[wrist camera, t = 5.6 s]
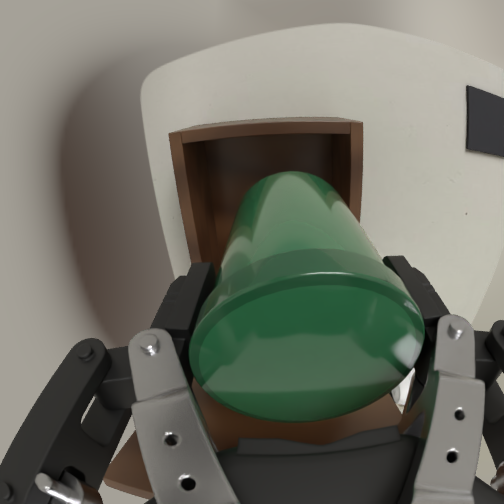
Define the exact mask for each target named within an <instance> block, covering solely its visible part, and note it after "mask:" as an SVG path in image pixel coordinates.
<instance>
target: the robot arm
mask: <svg viewBox="0 0 504 504" xmlns="http://www.w3.org/2000/svg"><path fill="white" fill-rule="evenodd" d="M383 262H384V263H385V265H386V266H387V267H388V268H390V269H391V270H392V271H393V272H394V273H395V274H396V275H397V276H399V277H400V278H401V280H402V281H403V283H404V284H405V285H406V287H407V288H408V290H409V292H410V293H411V295H412V297H413V299H414V300H415V302H416V304H417V306H418V308H419V309H420V312H421V314H422V317H423V320H424V326H425V339H424V345H423V349H422V352H421V354H420V357H419V359H418V361H417V363H416V364H415V366H414V369H415V371H414V373H413V375H412V378H411V382H410V386H409V391H408V395H407V399H406V402H405V406H404V410H403V413H402V417H401V420H400V422H399V424H398V425H392V426H387V427H382V428H377V429H371V430H365V431H361V432H358V433H356V434H353V435H350V436H348V437H345V438H342V439H340V440H337V441H334V442H331V443H328V444H324V445H316V444H309V443H303V442H297V441H292V440H286V439H281V438H240V437H238V447H232V448H228V449H224V450H221V451H219V449H218V447H217V444H216V442H215V440H214V438H213V436H212V434H211V432H210V430H209V428H208V425H207V423H206V421H205V418H204V416H203V413H202V411H201V409H200V406H199V404H198V401H197V399H196V396H195V394H194V391H193V389H192V383H193V379H194V376H193V374H192V371H191V368H190V364H189V356H188V350H189V344H190V339H191V336H192V333H193V329H194V326H195V323H196V320H197V317H198V314H199V312H200V309H201V307H202V305H203V304H204V302H205V300H206V299H207V297H208V296H209V295H210V294H211V293H212V291H213V287H214V284H215V280H216V273H215V268H214V264H213V262H198V263H192V265H191V267H190V269H189V272H188V274H187V276H179V277H178V278H177V279H176V280H175V281H174V282H173V283H172V284H171V285H170V287H169V289H168V291H167V295H165V297H164V299H163V302H162V304H161V306H160V308H159V310H158V312H157V314H156V316H155V318H154V320H153V323H152V325H151V327H150V329H147V330H144V331H141V332H140V333H138V334H136V336H134V337H133V338H132V340H131V341H130V343H129V346H125V347H119V348H113V349H106V347H105V346H104V344H103V343H102V341H100V340H99V339H95V338H89V339H85V340H82V341H80V342H78V343H77V344H76V345H75V346H74V347H73V348H72V349H71V350H70V352H69V353H68V355H67V356H66V357H65V359H64V360H63V362H62V363H61V365H60V366H59V367H58V369H57V370H56V372H55V373H54V375H53V376H52V378H51V379H50V381H49V382H48V384H47V385H46V387H45V388H44V390H43V391H42V393H41V395H40V396H39V398H38V399H37V401H36V403H35V404H34V406H33V407H32V409H31V411H30V412H29V414H28V416H27V417H26V419H25V421H24V422H23V424H22V426H21V427H20V429H19V431H18V433H17V434H16V436H15V438H14V440H13V442H12V444H11V446H10V448H9V449H8V451H7V453H6V455H5V457H4V459H3V461H2V463H1V465H0V504H103V501H102V498H101V496H100V494H99V492H98V490H99V487H100V485H101V483H102V480H103V478H104V476H105V473H106V471H107V469H108V466H109V464H110V462H111V459H112V457H113V455H114V452H115V450H116V448H117V446H118V444H119V441H120V439H121V437H122V434H123V433H124V430H125V428H126V426H127V424H128V422H129V419H130V417H131V415H133V419H134V424H135V429H136V433H137V437H138V442H139V446H140V450H141V453H142V457H143V461H144V464H145V468H146V471H147V474H148V478H149V481H150V484H151V487H152V490H153V493H154V497H153V498H151V499H150V500H149V501H147V502H146V503H144V504H504V394H503V392H502V391H501V389H500V387H499V385H498V383H497V382H496V379H497V378H498V377H499V376H500V374H501V373H502V372H503V373H504V320H499V321H496V322H495V323H494V324H493V326H492V328H491V330H490V331H489V332H485V331H475V330H473V328H472V326H471V324H470V323H469V322H468V321H467V320H466V319H464V318H462V317H460V316H458V315H452V314H450V312H449V311H448V309H447V308H446V306H445V305H444V303H443V301H442V300H441V298H440V297H439V295H438V294H437V292H435V289H434V288H433V286H432V285H430V282H429V281H428V279H427V278H426V276H425V275H424V274H423V273H421V272H420V271H419V270H417V269H416V268H412V267H411V266H410V264H409V263H408V261H407V260H406V259H405V257H404V256H385V257H384V258H383ZM93 396H94V397H95V400H94V402H93V403H92V405H91V407H90V409H89V411H88V413H87V415H86V416H85V418H84V420H83V422H82V424H81V419H82V416H83V414H84V412H85V410H86V409H87V407H88V404H89V403H90V401H91V400H92V398H93ZM482 434H483V436H484V439H485V441H486V444H487V446H488V448H489V451H490V453H491V456H492V459H493V461H494V464H495V467H496V469H497V473H496V475H495V476H494V477H493V478H492V480H491V484H490V485H491V486H489V485H488V484H486V483H485V482H483V481H482V480H481V479H479V478H478V477H476V476H475V474H476V469H477V464H478V458H479V452H480V446H481V438H482ZM496 489H497V491H496Z"/></svg>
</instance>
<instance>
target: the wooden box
mask: <svg viewBox="0 0 504 504" xmlns="http://www.w3.org/2000/svg"><path fill="white" fill-rule="evenodd" d="M169 141H170V148H171V155H172V161H173V168H174V174H175V180H176V186H177V192H178V197H179V203H180V208H181V214H182V219H183V224H184V229H185V234H186V239H187V244H188V249H189V254H190V259H191V263H198V262H213V264H214V268H215V273H216V277H217V274H218V270H219V267H220V263H221V260H222V256H223V253H224V250H225V246H226V243H227V240H228V236H229V233H230V230H231V226H232V223H233V220H234V217H235V213H236V210H237V208H238V205H239V203H240V201H241V199H242V198H243V196H244V195H245V194H246V192H247V191H248V190H249V189H250V188H251V187H252V186H253V185H255V184H256V183H257V182H259V181H260V180H262V179H264V178H266V177H268V176H270V175H273V174H277V173H281V172H289V171H296V172H304V173H309V174H312V175H315V176H317V177H319V178H321V179H323V180H324V181H326V182H328V183H329V184H330V185H331V186H332V187H333V188H334V189H335V190H336V191H337V192H338V193H339V195H340V196H341V197H342V199H343V200H344V202H345V203H346V205H347V206H348V207H349V209H350V210H351V212H352V213H353V215H354V216H355V218H356V219H357V221H358V222H359V224H360V213H361V197H362V175H363V122H360V121H355V120H350V119H344V118H338V117H290V118H267V119H252V120H240V121H230V122H220V123H212V124H204V125H197V126H192V127H189V128H185V129H182V130H178V131H175V132H172V133H169Z"/></svg>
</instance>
